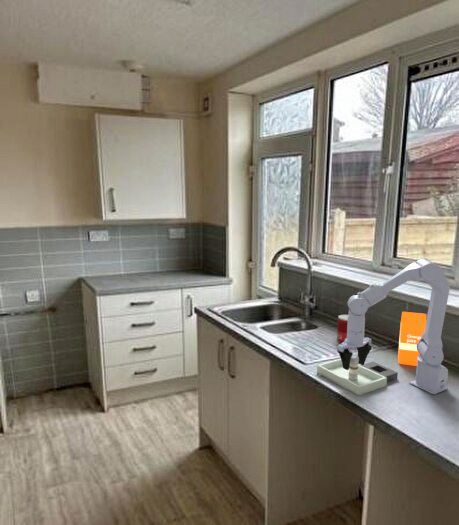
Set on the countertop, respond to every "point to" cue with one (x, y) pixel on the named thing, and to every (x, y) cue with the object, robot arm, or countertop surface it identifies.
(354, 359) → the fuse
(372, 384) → the parts tray
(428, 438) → the countertop surface
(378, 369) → the fuse holder
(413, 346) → the orange juice
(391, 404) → the countertop surface
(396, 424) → the countertop surface
